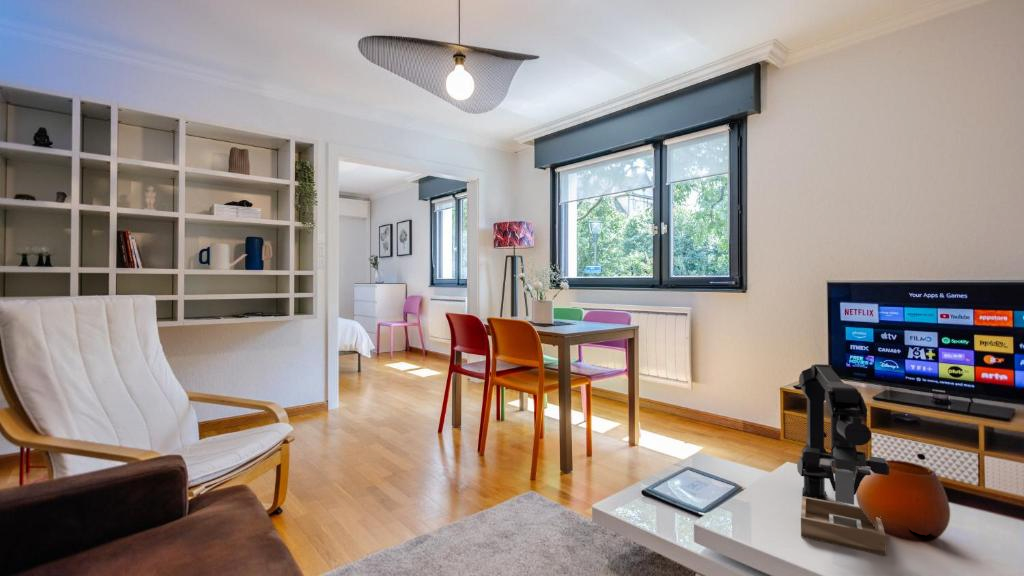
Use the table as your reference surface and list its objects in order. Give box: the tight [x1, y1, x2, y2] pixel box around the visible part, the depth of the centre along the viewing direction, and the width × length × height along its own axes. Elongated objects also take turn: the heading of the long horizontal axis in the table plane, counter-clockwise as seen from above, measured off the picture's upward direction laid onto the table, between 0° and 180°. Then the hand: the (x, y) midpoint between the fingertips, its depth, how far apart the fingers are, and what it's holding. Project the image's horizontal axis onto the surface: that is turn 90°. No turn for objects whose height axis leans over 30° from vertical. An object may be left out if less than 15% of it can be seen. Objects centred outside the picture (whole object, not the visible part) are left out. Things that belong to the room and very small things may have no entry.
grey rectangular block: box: [834, 467, 855, 506], centre depth 128 cm, size 4×4×8 cm
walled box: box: [800, 495, 887, 557], centre depth 130 cm, size 16×18×5 cm
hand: (844, 492), depth 128 cm, fingers closed on grey rectangular block, 4 cm apart
